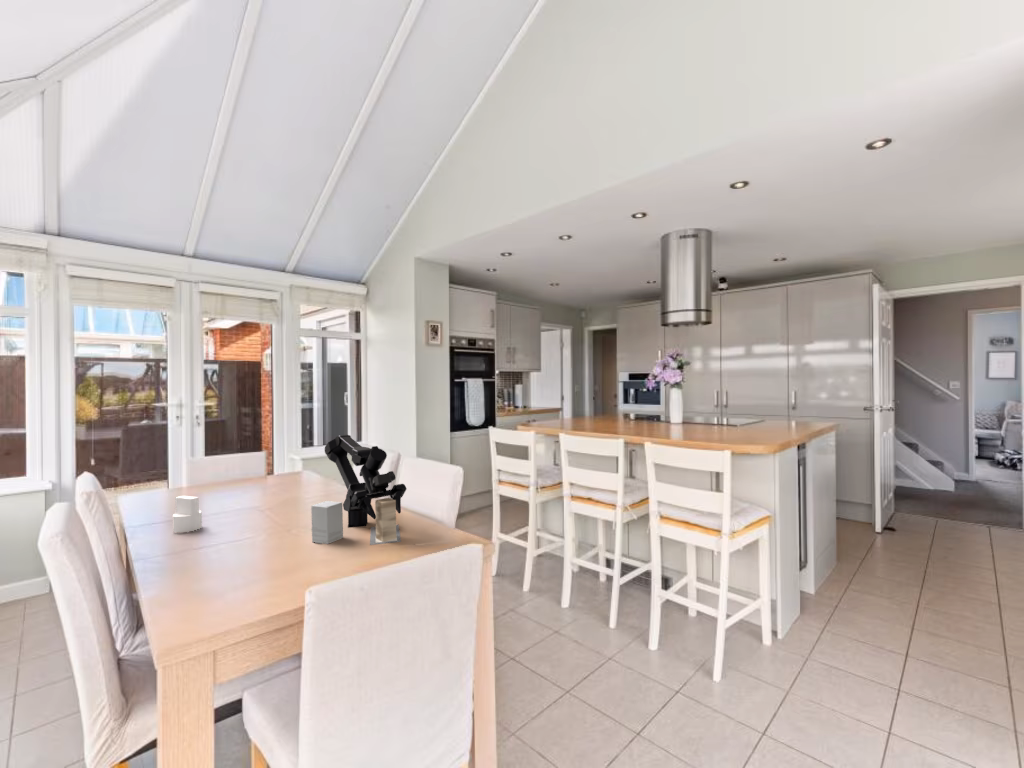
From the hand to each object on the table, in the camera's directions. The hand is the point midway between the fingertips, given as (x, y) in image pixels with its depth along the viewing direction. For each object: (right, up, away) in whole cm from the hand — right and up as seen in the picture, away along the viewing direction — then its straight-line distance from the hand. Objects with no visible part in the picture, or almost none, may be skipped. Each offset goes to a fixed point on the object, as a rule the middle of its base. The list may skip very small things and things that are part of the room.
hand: (387, 515), depth 162 cm
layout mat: (-2, -9, +6) cm, 11 cm away
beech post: (-1, -8, +1) cm, 8 cm away
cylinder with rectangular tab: (-79, -10, +16) cm, 81 cm away
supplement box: (-21, -9, +1) cm, 23 cm away
